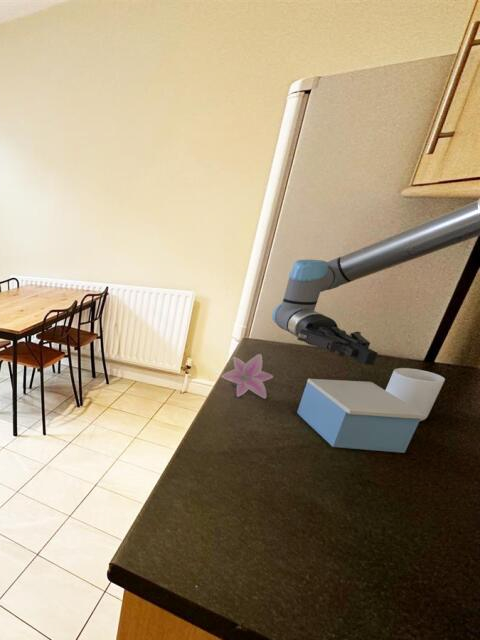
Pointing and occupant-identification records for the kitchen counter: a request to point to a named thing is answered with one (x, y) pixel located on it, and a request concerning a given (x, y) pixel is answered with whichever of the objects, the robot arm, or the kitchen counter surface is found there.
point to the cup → (415, 388)
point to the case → (354, 425)
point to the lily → (248, 376)
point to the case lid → (365, 399)
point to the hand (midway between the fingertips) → (371, 358)
